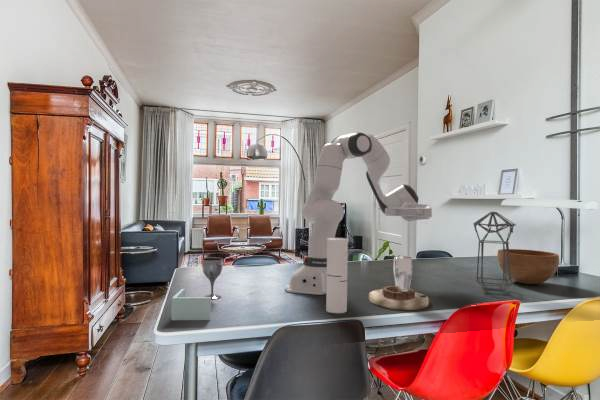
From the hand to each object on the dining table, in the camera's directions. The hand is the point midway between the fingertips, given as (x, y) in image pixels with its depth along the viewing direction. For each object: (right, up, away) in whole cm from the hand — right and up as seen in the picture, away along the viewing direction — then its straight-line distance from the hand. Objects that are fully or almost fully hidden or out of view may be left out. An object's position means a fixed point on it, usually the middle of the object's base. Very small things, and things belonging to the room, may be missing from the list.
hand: (405, 212), depth 153 cm
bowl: (+64, -35, +18) cm, 75 cm away
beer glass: (-7, -32, -18) cm, 37 cm away
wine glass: (-80, -33, -15) cm, 88 cm away
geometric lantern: (+38, -35, +2) cm, 52 cm away
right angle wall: (-81, -33, -35) cm, 94 cm away
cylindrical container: (-33, -33, -29) cm, 55 cm away
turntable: (-8, -34, -17) cm, 39 cm away
